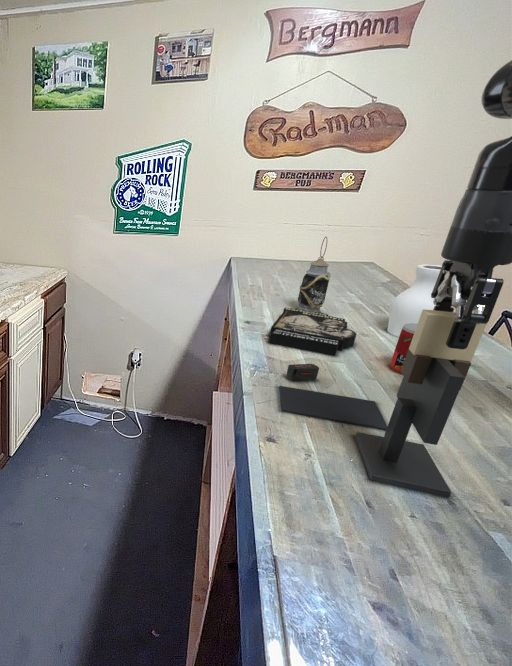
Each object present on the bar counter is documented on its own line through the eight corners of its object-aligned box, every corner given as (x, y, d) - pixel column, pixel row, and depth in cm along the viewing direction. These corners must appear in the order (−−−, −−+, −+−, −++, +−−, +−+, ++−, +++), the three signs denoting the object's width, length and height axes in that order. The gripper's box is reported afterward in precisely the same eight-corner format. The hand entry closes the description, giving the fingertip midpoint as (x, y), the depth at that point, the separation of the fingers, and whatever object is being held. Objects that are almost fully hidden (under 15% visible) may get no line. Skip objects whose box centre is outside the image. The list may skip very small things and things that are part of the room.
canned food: (389, 372, 111) (403, 329, 106) (388, 361, 117) (402, 321, 112) (429, 380, 107) (446, 336, 102) (426, 369, 113) (442, 326, 108)
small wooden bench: (452, 378, 71) (478, 313, 67) (462, 390, 68) (490, 321, 63) (398, 371, 74) (421, 307, 70) (406, 382, 70) (429, 315, 66)
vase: (374, 324, 143) (394, 260, 135) (428, 328, 140) (452, 263, 132) (394, 340, 131) (417, 271, 123) (453, 345, 127) (481, 274, 119)
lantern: (323, 315, 152) (343, 239, 142) (296, 313, 154) (314, 237, 145) (318, 308, 159) (337, 235, 149) (292, 306, 162) (309, 234, 152)
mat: (374, 403, 97) (374, 401, 96) (387, 431, 87) (388, 428, 86) (279, 387, 103) (279, 385, 103) (281, 411, 93) (282, 409, 93)
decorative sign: (264, 331, 128) (285, 307, 150) (262, 342, 129) (283, 316, 151) (352, 348, 117) (360, 318, 139) (349, 359, 118) (357, 328, 140)
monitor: (419, 447, 82) (461, 343, 74) (451, 502, 68) (505, 382, 60) (354, 434, 86) (386, 334, 78) (371, 484, 72) (412, 369, 64)
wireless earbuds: (320, 380, 107) (323, 368, 105) (291, 382, 106) (294, 369, 105) (307, 372, 111) (310, 360, 110) (279, 373, 110) (282, 361, 109)
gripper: (554, 234, 54) (498, 359, 61) (500, 221, 66) (459, 327, 72) (473, 230, 57) (428, 351, 63) (436, 218, 69) (401, 321, 75)
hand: (445, 338), depth 68 cm, fingers open, 8 cm apart
